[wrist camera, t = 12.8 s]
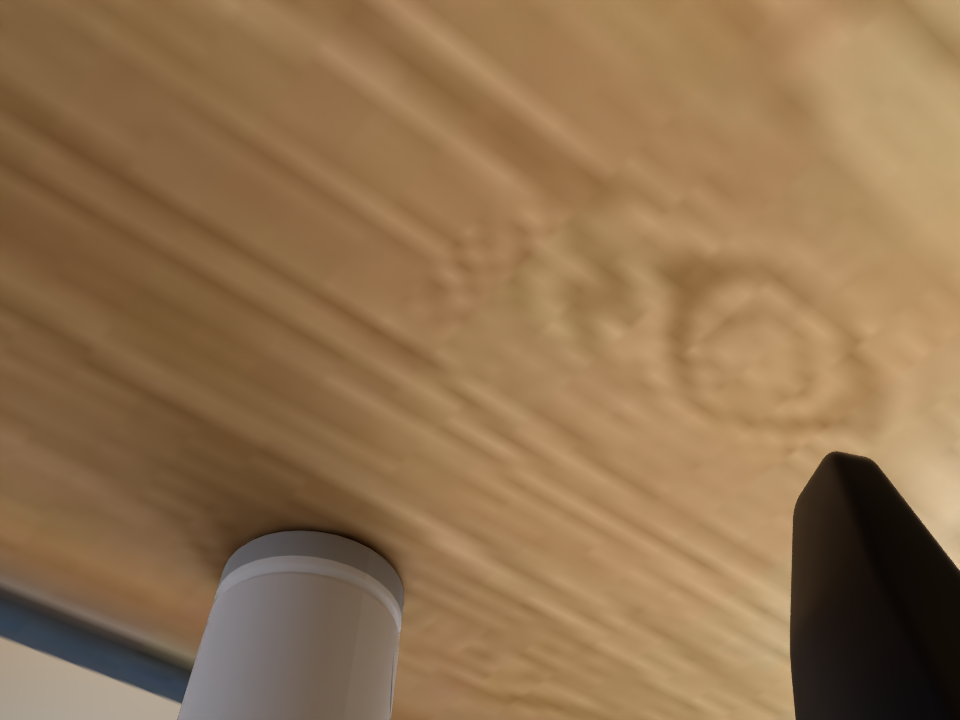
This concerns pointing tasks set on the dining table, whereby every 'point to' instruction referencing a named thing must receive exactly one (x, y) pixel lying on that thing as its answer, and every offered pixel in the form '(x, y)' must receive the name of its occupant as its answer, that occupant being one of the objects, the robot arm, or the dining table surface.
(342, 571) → the travel mug
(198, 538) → the dining table surface
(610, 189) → the dining table surface
